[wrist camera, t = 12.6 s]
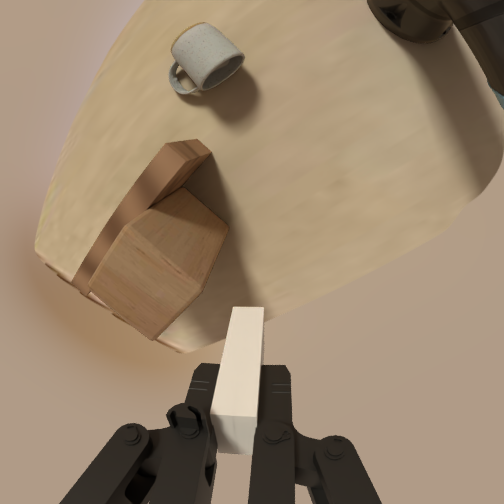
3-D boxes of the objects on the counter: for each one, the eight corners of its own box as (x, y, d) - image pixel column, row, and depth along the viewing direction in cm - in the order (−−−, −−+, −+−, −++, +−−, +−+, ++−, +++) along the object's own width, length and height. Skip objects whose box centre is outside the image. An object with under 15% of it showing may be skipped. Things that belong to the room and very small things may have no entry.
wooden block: (192, 268, 50) (152, 343, 32) (147, 230, 48) (84, 287, 30) (231, 227, 47) (204, 291, 29) (182, 184, 45) (124, 223, 27)
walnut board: (197, 139, 42) (165, 143, 29) (211, 152, 43) (185, 161, 30) (113, 246, 50) (71, 282, 37) (125, 257, 50) (85, 296, 38)
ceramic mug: (213, 28, 35) (200, 11, 28) (248, 62, 37) (242, 49, 30) (161, 73, 38) (140, 65, 31) (194, 108, 41) (178, 104, 33)
